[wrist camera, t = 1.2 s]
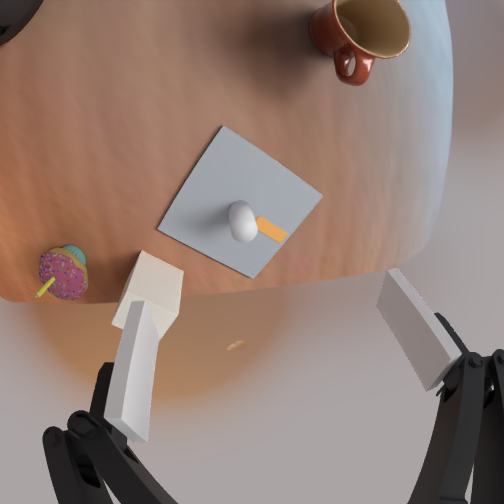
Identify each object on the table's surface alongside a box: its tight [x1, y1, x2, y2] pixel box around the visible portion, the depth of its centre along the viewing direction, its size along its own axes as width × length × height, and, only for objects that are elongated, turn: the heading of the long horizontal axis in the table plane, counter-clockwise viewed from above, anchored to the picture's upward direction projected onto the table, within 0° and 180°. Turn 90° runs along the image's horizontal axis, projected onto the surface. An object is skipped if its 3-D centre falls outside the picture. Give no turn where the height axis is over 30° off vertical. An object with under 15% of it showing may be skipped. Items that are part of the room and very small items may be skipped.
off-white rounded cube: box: [112, 251, 184, 342], centre depth 37 cm, size 10×7×9 cm, turn 144°
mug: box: [309, 0, 411, 86], centre depth 21 cm, size 12×9×10 cm
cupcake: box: [34, 245, 88, 300], centre depth 31 cm, size 9×8×12 cm
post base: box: [158, 125, 323, 279], centre depth 33 cm, size 16×16×6 cm
